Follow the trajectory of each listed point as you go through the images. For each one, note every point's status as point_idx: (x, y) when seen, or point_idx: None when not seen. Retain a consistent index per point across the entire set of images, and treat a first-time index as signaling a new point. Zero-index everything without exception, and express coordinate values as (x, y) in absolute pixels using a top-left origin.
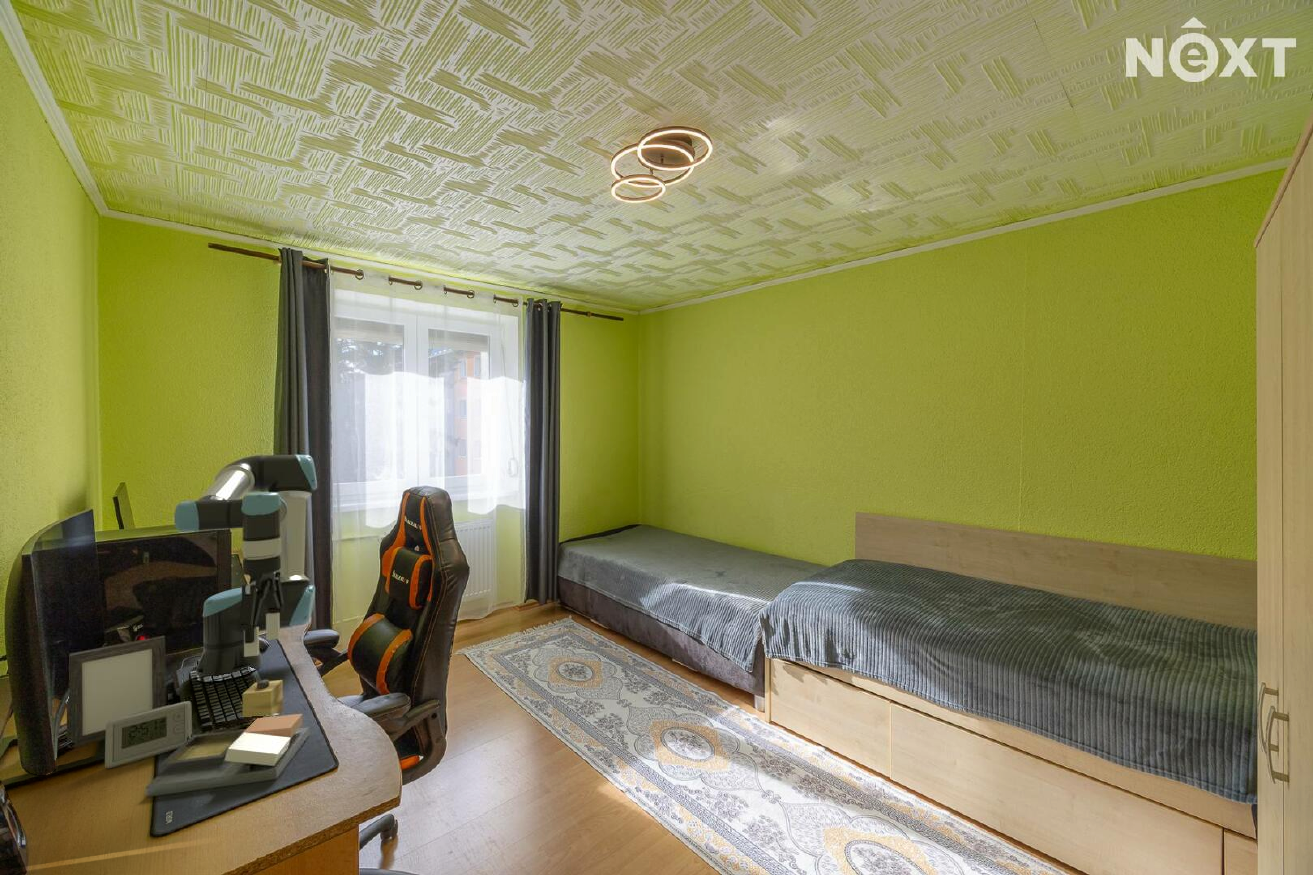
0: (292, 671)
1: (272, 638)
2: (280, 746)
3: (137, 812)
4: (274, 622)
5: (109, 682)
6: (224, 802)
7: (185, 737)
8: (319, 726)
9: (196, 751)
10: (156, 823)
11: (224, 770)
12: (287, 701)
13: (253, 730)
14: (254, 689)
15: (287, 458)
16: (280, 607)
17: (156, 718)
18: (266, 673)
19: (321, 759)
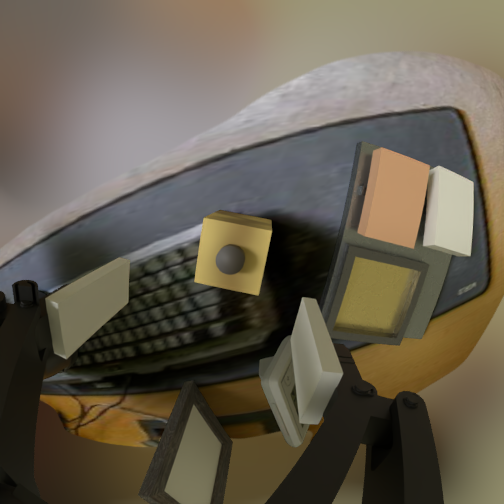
0: (52, 236)
1: (127, 282)
2: (459, 179)
3: (441, 326)
4: (89, 301)
5: (199, 481)
6: (474, 236)
7: None
8: (326, 128)
9: (364, 314)
10: (470, 296)
11: (440, 254)
12: (173, 211)
13: (415, 231)
14: (240, 274)
15: None
16: (15, 303)
17: (293, 403)
18: (51, 277)
19: (436, 125)
